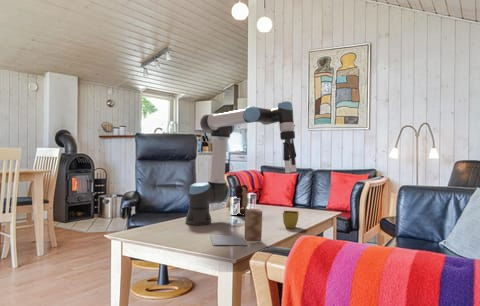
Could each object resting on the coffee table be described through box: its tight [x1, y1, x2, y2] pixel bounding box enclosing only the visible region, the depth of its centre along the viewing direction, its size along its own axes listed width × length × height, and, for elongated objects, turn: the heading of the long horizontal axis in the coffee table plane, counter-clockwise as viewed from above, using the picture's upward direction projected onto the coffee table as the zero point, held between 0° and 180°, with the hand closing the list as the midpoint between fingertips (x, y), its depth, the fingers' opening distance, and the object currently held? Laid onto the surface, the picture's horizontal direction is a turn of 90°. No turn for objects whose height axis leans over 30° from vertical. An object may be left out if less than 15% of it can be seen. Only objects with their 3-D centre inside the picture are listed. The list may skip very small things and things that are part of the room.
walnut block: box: [243, 208, 263, 243], centre depth 186 cm, size 7×7×15 cm
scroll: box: [235, 184, 249, 215], centre depth 258 cm, size 15×15×20 cm
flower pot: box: [282, 210, 300, 229], centre depth 221 cm, size 9×9×9 cm
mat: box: [209, 234, 248, 246], centre depth 184 cm, size 16×18×1 cm
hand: (290, 172), depth 196 cm, fingers open, 13 cm apart
